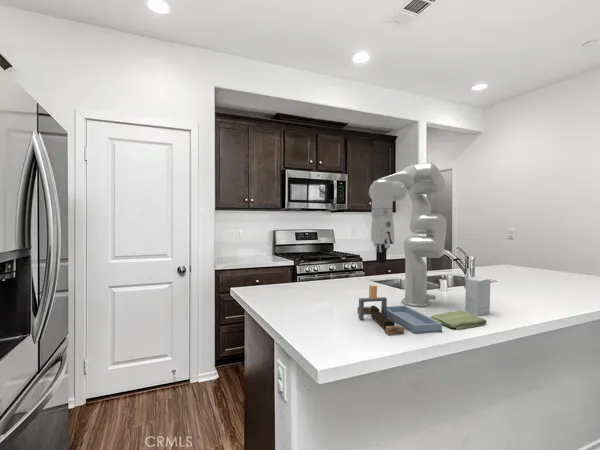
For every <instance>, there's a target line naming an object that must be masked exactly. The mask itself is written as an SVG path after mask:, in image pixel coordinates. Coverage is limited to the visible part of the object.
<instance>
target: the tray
mask: <svg viewBox="0 0 600 450" xmlns="http://www.w3.org/2000/svg"><path fill="white" fill-rule="evenodd" d="M381 308H382V306H380V309H381ZM387 317H388V319H389V320H392V321H393V322H394V323H396V324H398V325H402V326H403V327H404V330H407V331H409V332H410V333H412V334H413V335H417V334H418V335H419V334H427V333H442V332H443V325H442V323H440V322H438V321H436V320H434V319H432V318H430V317H431V316H427V315H425V314H423V313H421V312H419V311H417V310H416V309H413V308H411V307H410V306H408V305H406V304H403V305H389V306H388V305H387Z"/></svg>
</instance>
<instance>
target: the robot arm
mask: <svg viewBox="0 0 600 450" xmlns="http://www.w3.org/2000/svg"><path fill="white" fill-rule="evenodd" d="M445 188H446V180H445V178H444V176H443V174H442V172H441V171H440V169H439V168H438V167H437V166H436V165H435V164H434V163H432V162H427V163H416V164H414V163H413V164H411V165H408V166H406V167H404V169H402V170H400V171H398V172H396V173H393V174H391V175H386V176H384V177H380V178H378V179H377V180H374V181H373V182H372V184H371V185H370V186H369V190H368V196H369V198H370V199H371V218H372V220H371V228H370V230H371V231H370V241H371V243H373V246H374V247H375V255H376V257H375V258H376V259H375V262H376V263H378V264H386V263H387V252H388V249H389V248H391V245H393V244H394V243H395V228H394V227H395V226H394V219H393V206H394V205H393V203H394V202H399V201H402V200H404V199H405V198H406V196H407V193H408V196H409V198H410V201H411V204H412V205H411V206H412V207H411V215H410V222H409V229H410V232H411V233H413V234H416V235H410V236H407V237H405V238H404V241H403V251H404V261H405V267H404V268H405V272H404V273H405V274H404V275H405V276H404V277H405V279H404V281H405V283H404V297H403V298H401V303H402V304H403V305H405V306H409V307H410V306H411V307H416V308H417V307H422V308H423V307H429V306H430V305H431V302H430V300H436V298H437V297H436V296H437V295H435V294H431V295H430V294H428V293H427V291H428V290H427V289H428V287H427V284H428V283H427V282H428V281H427V280H428V265H427V263H426V261H425V260H424V259H423V258H431V259H432V258H434V259H439V258H441V257H442V256H443V255H444V252H445V243H446V235H447V219H446V217H445V216H444V215H443V214H439V213H431V212H432V204H431V202H430V201H429V199H428V198H427V197H426V196H425V195H436V194H437V195H438V194H441V193H443V192H444V191H445ZM424 235H432V236H424Z"/></svg>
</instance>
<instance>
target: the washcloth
mask: <svg viewBox="0 0 600 450" xmlns="http://www.w3.org/2000/svg"><path fill="white" fill-rule="evenodd" d="M429 317H430V318H432V319H434V320H436V321H438V322H440V323H442V326H446V327H449V328H451V329H453V330H456V331H461V329H462V330H467V329H472V328H476V326H478V327H482V326H486V324H487V323H488V322H487V320H486V319H485V318H483V317H480V316H476V315H472V314H469V313H467V312H465V310H461V309H457V310H454V311H449V312H443V313H436V314H433V315H431V316H429ZM481 325H482V326H481ZM471 327H472V328H471ZM466 328H467V329H466Z"/></svg>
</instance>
